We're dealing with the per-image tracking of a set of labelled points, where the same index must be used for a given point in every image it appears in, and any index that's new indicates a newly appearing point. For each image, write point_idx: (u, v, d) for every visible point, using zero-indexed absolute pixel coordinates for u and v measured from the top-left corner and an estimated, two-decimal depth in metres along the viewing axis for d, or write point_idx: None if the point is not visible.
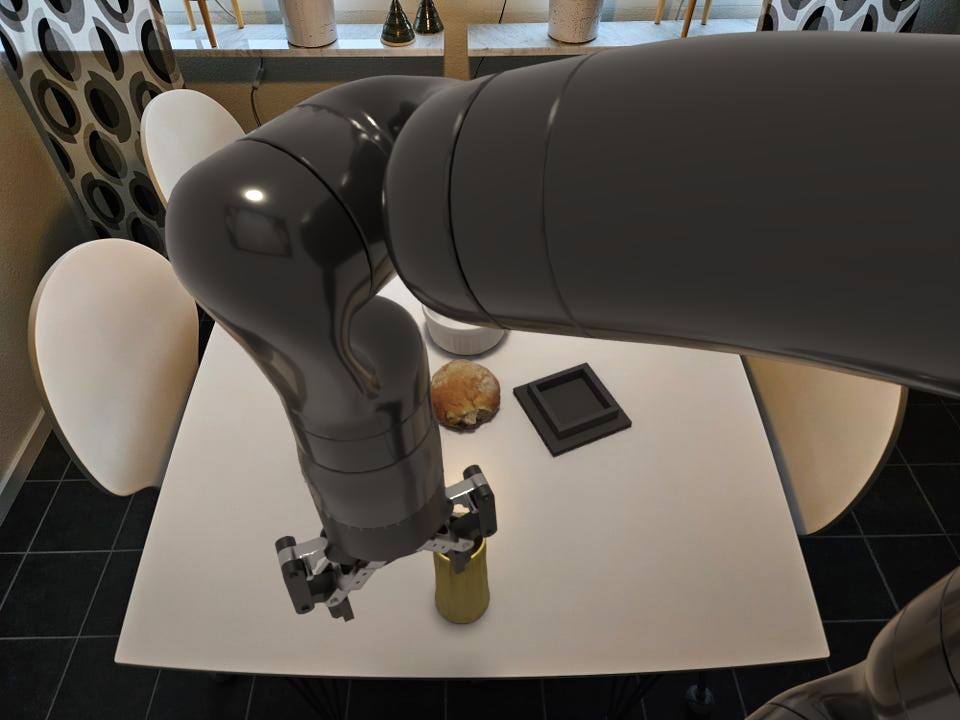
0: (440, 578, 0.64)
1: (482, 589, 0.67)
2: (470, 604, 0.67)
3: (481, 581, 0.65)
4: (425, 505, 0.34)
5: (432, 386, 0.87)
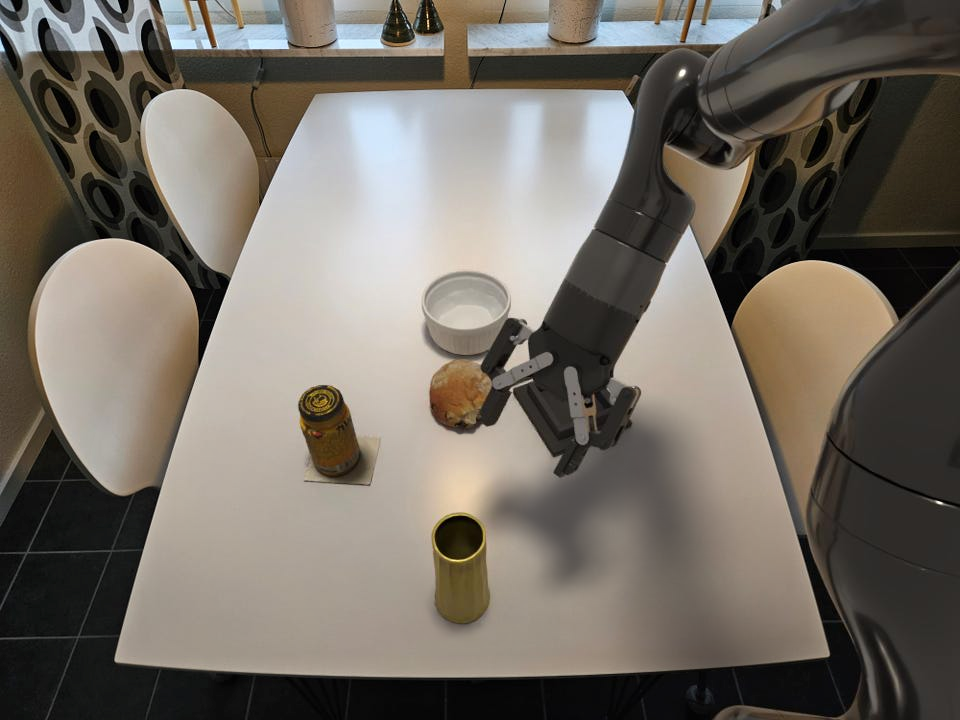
0: (440, 578, 0.64)
1: (482, 589, 0.67)
2: (470, 604, 0.67)
3: (481, 581, 0.65)
4: (606, 304, 0.53)
5: (432, 386, 0.87)
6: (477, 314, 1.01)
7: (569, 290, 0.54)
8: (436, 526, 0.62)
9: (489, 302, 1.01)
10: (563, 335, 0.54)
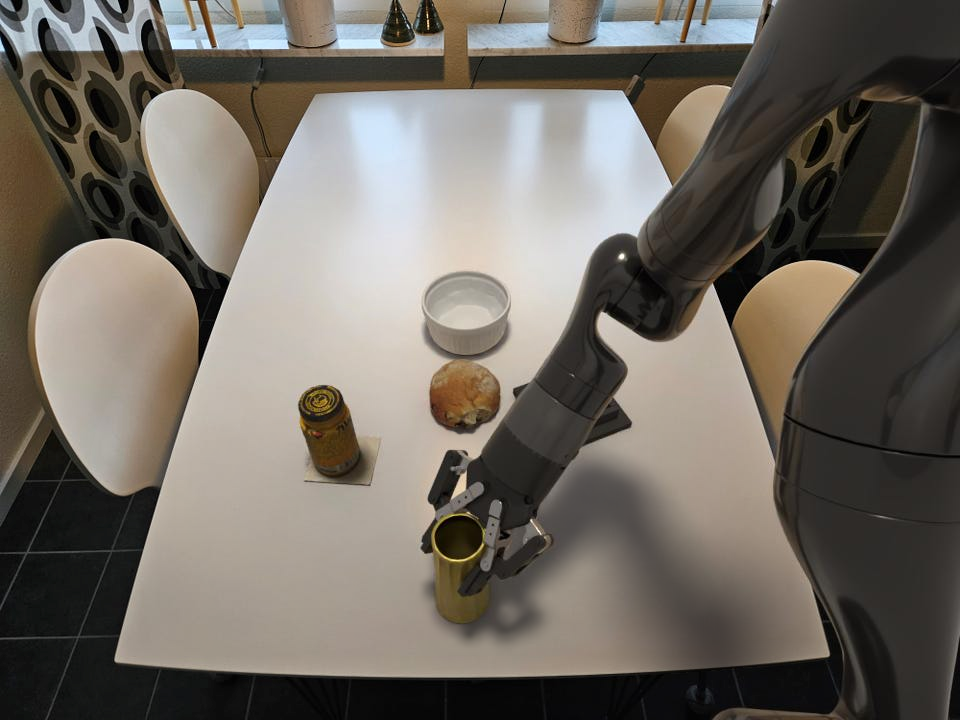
0: (440, 578, 0.64)
1: None
2: (469, 604, 0.67)
3: None
4: (532, 451, 0.57)
5: (432, 386, 0.87)
6: (477, 314, 1.01)
7: (503, 431, 0.59)
8: (436, 526, 0.62)
9: (489, 302, 1.01)
10: (491, 471, 0.59)
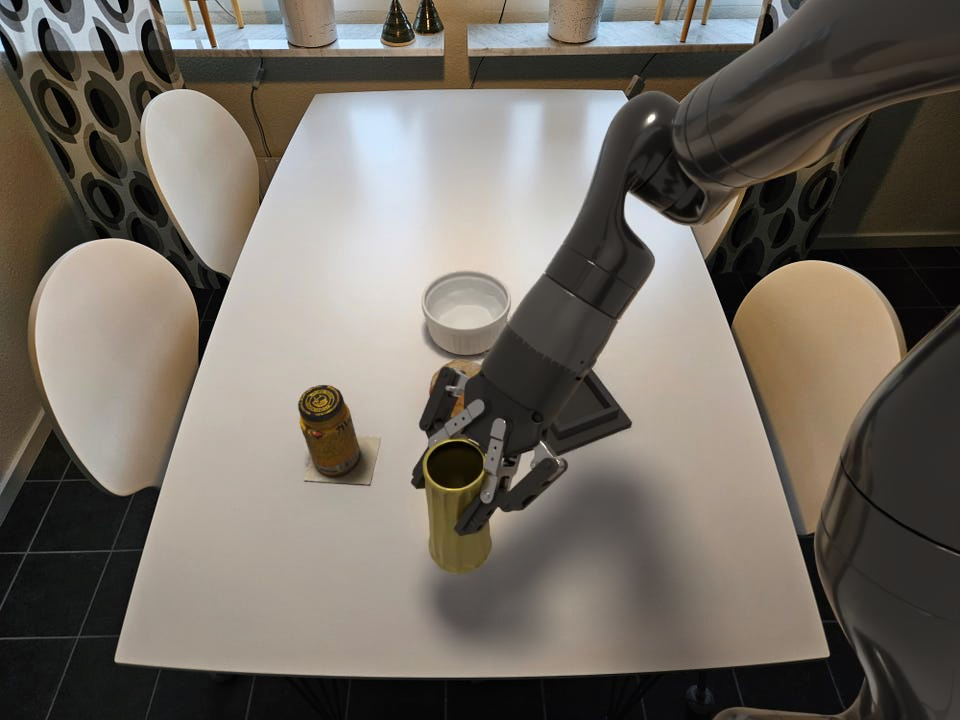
0: (434, 516, 0.55)
1: (483, 531, 0.57)
2: (468, 550, 0.58)
3: None
4: (542, 355, 0.48)
5: (432, 386, 0.87)
6: (477, 313, 1.01)
7: (507, 335, 0.50)
8: (428, 452, 0.53)
9: (489, 302, 1.01)
10: (493, 382, 0.50)
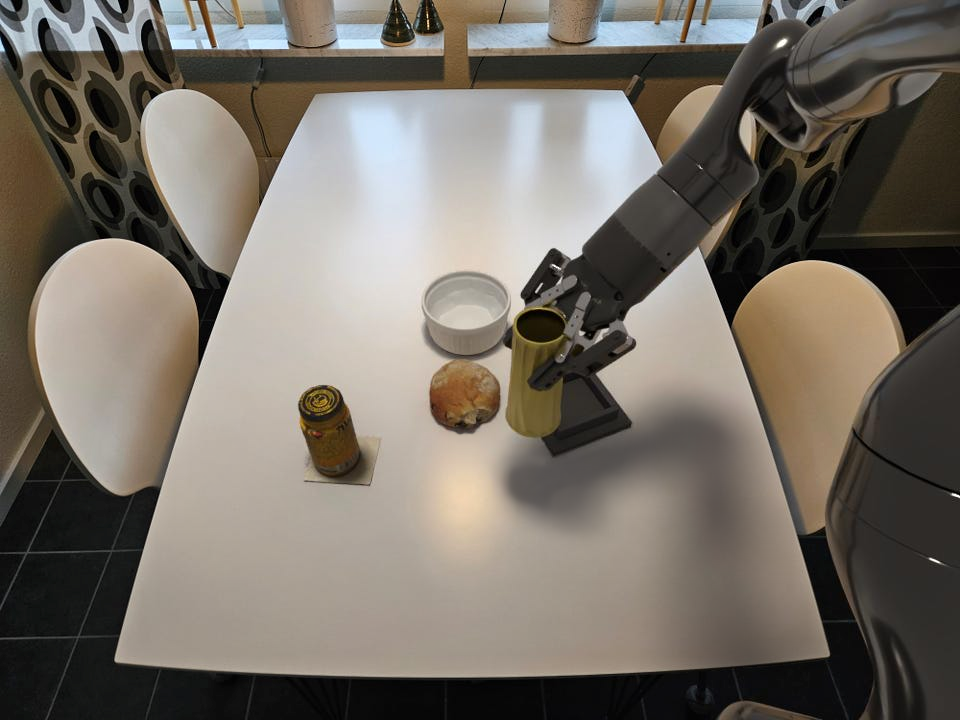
0: (513, 370, 0.64)
1: (553, 400, 0.66)
2: (537, 413, 0.67)
3: (553, 387, 0.64)
4: (634, 238, 0.55)
5: (432, 386, 0.87)
6: (477, 313, 1.01)
7: (610, 220, 0.57)
8: (521, 312, 0.62)
9: (489, 302, 1.01)
10: (588, 258, 0.57)
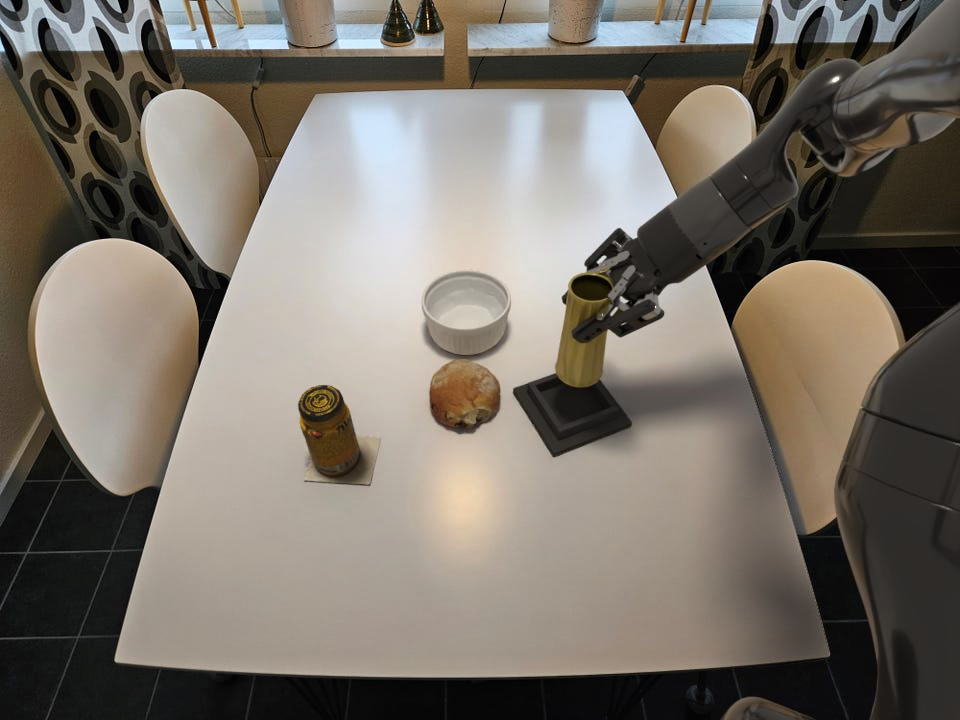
0: (564, 322, 0.76)
1: (593, 355, 0.77)
2: (578, 364, 0.79)
3: (594, 343, 0.76)
4: (677, 225, 0.65)
5: (432, 386, 0.87)
6: (477, 313, 1.01)
7: (664, 209, 0.68)
8: (579, 274, 0.74)
9: (489, 302, 1.01)
10: (639, 236, 0.69)
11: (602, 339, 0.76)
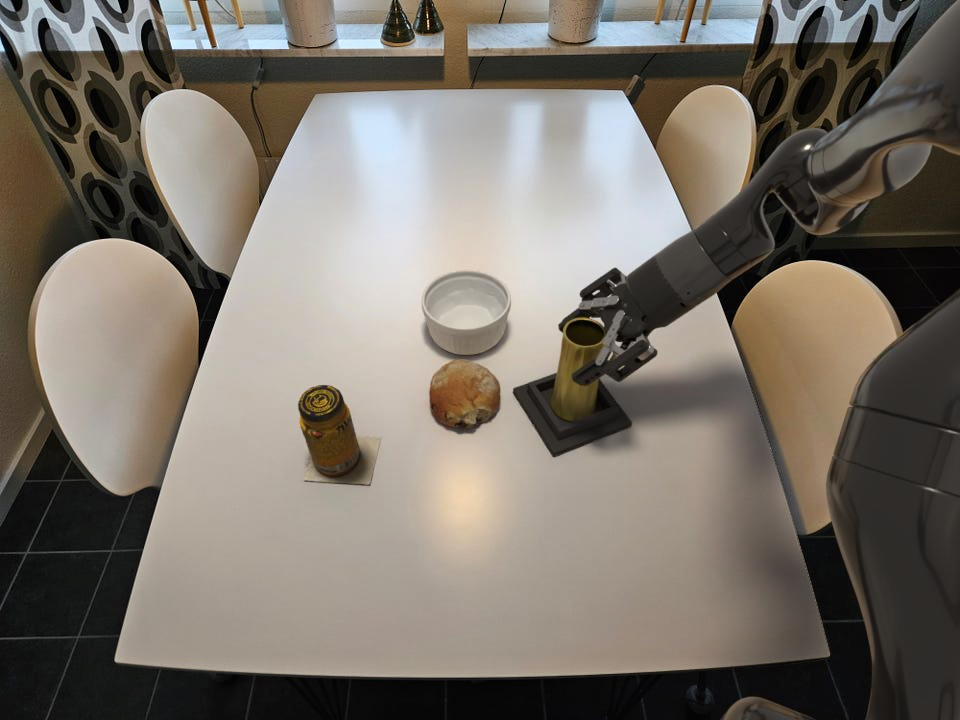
0: (559, 363, 0.82)
1: (586, 393, 0.83)
2: (572, 401, 0.84)
3: None
4: (663, 276, 0.70)
5: (432, 386, 0.87)
6: (477, 313, 1.01)
7: (651, 258, 0.73)
8: (573, 319, 0.80)
9: (489, 302, 1.01)
10: (627, 284, 0.74)
11: None
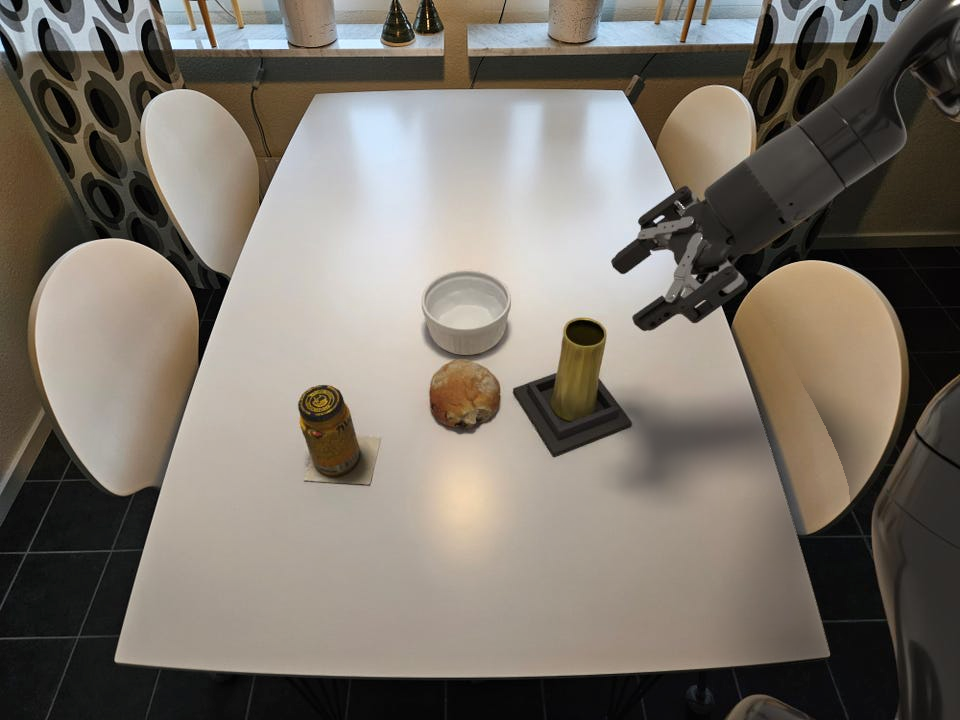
0: (559, 363, 0.82)
1: (586, 393, 0.83)
2: (572, 401, 0.84)
3: (587, 383, 0.81)
4: (758, 183, 0.55)
5: (432, 386, 0.87)
6: (477, 314, 1.01)
7: (738, 165, 0.58)
8: (573, 319, 0.80)
9: (489, 302, 1.01)
10: (708, 198, 0.58)
11: (595, 379, 0.82)
